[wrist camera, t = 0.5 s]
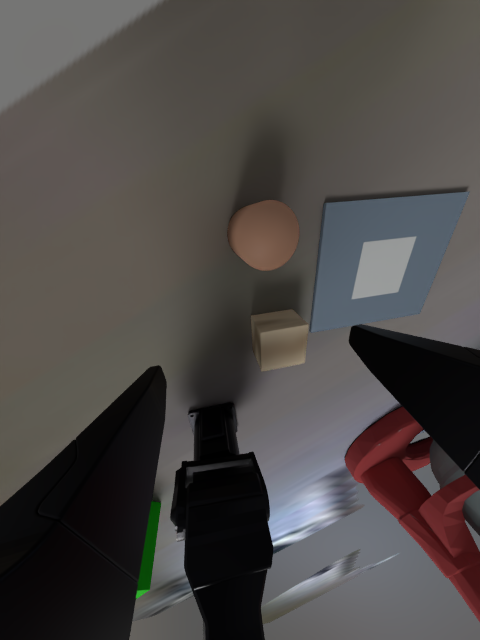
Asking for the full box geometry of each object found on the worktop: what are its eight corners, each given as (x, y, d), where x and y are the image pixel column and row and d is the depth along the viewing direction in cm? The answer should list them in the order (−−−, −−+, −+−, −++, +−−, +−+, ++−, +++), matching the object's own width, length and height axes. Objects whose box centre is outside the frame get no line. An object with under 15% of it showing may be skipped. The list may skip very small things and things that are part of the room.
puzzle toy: (78, 522, 35) (38, 624, 26) (108, 494, 32) (75, 595, 24) (132, 526, 39) (113, 614, 30) (161, 502, 37) (149, 589, 28)
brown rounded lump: (274, 256, 19) (297, 266, 15) (229, 261, 19) (239, 274, 14) (275, 203, 17) (301, 197, 13) (224, 207, 17) (234, 202, 12)
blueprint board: (416, 312, 27) (419, 313, 26) (309, 331, 25) (311, 332, 24) (465, 192, 20) (469, 191, 20) (323, 203, 18) (326, 203, 18)
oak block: (289, 343, 25) (304, 363, 22) (252, 350, 24) (261, 371, 21) (291, 308, 23) (308, 324, 19) (250, 315, 22) (260, 332, 19)
